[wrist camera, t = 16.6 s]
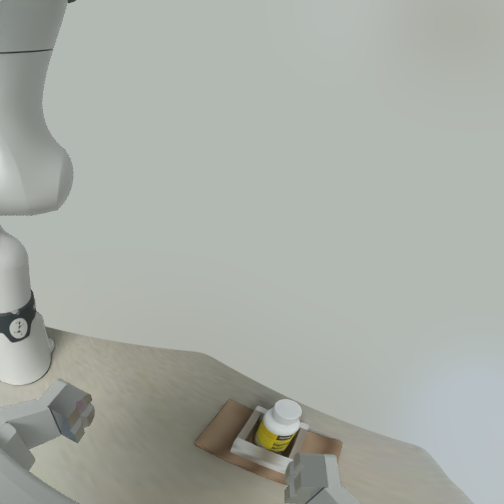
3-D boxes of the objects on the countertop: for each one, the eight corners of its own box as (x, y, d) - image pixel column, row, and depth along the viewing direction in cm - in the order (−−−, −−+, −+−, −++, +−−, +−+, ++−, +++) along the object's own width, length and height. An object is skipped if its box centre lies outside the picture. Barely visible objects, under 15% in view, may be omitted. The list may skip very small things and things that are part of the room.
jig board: (194, 444, 34) (197, 431, 33) (228, 402, 45) (232, 388, 44) (326, 496, 27) (338, 486, 26) (340, 445, 38) (350, 432, 37)
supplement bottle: (265, 462, 33) (285, 427, 30) (245, 438, 37) (261, 401, 34) (292, 449, 36) (314, 413, 33) (272, 428, 40) (290, 390, 37)
